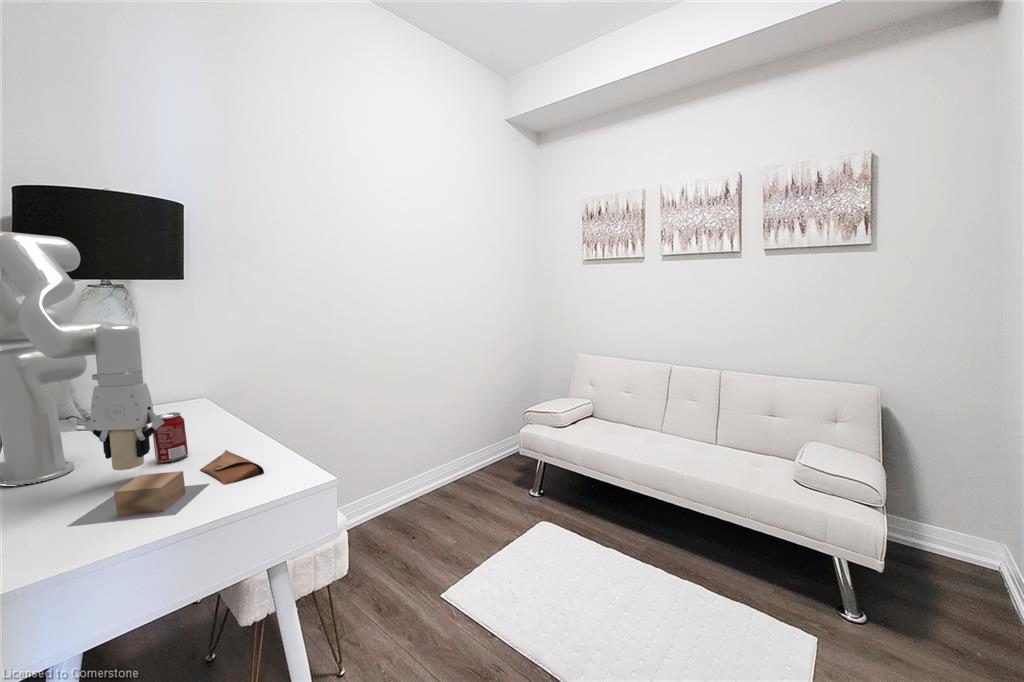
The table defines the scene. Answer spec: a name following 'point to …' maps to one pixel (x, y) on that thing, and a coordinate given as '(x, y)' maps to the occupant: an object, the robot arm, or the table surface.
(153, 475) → the block
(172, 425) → the soda can
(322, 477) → the table surface
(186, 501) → the mat
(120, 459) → the candle
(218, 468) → the sunglasses case
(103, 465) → the table surface
